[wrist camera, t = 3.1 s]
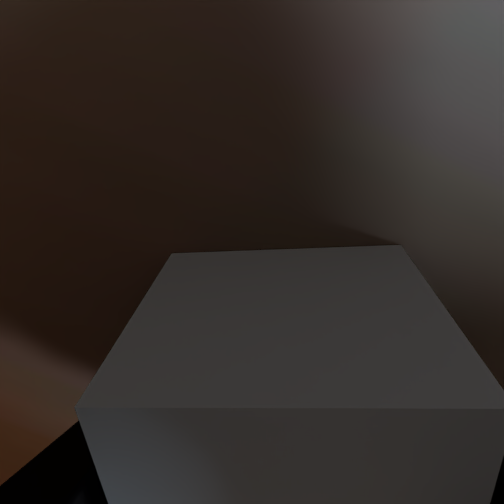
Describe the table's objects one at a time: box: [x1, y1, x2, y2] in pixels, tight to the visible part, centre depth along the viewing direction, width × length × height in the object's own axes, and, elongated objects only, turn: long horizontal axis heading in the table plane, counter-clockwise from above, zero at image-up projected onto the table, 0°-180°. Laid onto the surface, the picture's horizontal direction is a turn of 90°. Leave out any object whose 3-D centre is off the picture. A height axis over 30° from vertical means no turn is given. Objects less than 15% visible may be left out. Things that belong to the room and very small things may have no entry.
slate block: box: [74, 245, 504, 504], centre depth 7 cm, size 4×4×4 cm
